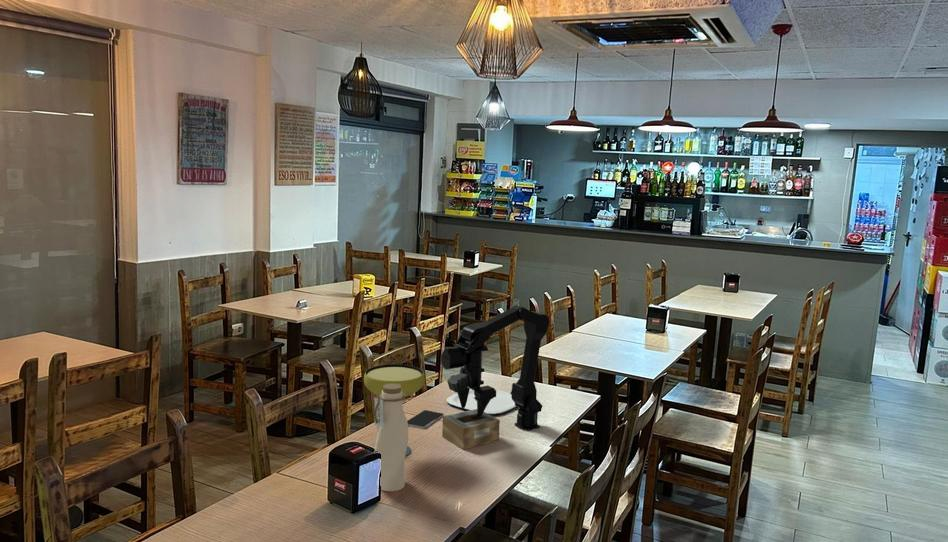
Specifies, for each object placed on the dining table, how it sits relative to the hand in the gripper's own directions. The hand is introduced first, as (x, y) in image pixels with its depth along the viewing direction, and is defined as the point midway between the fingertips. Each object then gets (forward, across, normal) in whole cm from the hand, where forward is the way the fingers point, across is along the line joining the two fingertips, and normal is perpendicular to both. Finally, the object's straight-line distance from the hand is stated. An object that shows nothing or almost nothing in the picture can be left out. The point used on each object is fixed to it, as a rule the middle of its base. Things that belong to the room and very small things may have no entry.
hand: (471, 412), depth 217 cm
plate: (+10, -26, +25) cm, 37 cm away
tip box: (+9, 0, 0) cm, 9 cm away
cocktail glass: (+9, -4, -26) cm, 28 cm away
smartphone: (+10, -22, -4) cm, 24 cm away
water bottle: (+9, +16, -38) cm, 42 cm away
